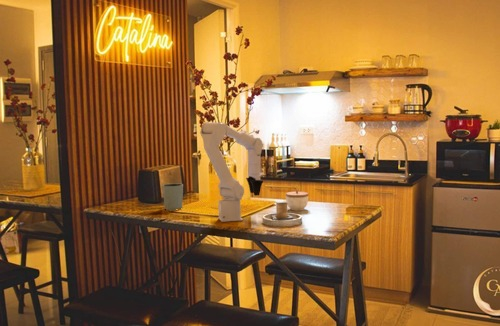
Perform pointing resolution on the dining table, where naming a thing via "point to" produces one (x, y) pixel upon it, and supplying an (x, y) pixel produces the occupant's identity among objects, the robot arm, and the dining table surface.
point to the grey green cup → (173, 196)
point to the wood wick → (281, 209)
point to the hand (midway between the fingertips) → (254, 194)
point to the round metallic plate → (282, 220)
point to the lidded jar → (297, 200)
